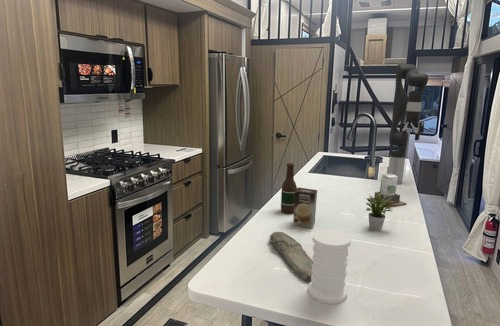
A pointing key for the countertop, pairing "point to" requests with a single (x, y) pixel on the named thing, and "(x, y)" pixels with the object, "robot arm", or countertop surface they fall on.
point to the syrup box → (388, 184)
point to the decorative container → (329, 266)
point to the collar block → (395, 199)
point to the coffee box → (305, 207)
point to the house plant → (377, 212)
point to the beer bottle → (288, 191)
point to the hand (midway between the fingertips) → (410, 139)
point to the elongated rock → (293, 254)
